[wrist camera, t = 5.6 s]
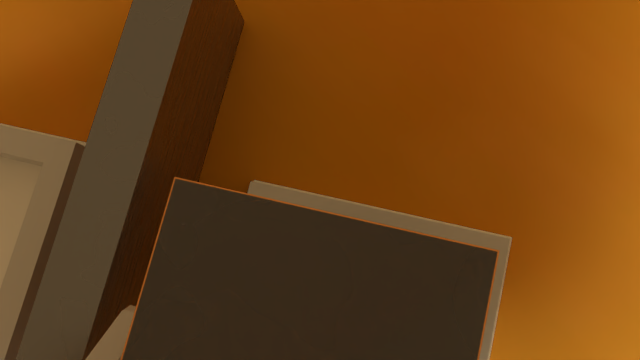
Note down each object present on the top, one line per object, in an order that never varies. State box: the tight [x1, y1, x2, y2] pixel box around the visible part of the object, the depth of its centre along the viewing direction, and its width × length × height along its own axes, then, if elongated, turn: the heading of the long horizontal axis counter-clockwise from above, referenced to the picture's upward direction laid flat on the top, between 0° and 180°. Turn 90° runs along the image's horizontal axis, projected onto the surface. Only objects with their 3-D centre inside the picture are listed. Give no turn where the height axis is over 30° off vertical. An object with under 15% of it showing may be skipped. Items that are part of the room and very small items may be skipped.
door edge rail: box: [16, 0, 244, 360], centre depth 16 cm, size 2×18×4 cm, turn 167°
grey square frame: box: [247, 180, 512, 360], centre depth 16 cm, size 8×8×2 cm
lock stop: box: [120, 177, 500, 360], centre depth 12 cm, size 4×4×10 cm
